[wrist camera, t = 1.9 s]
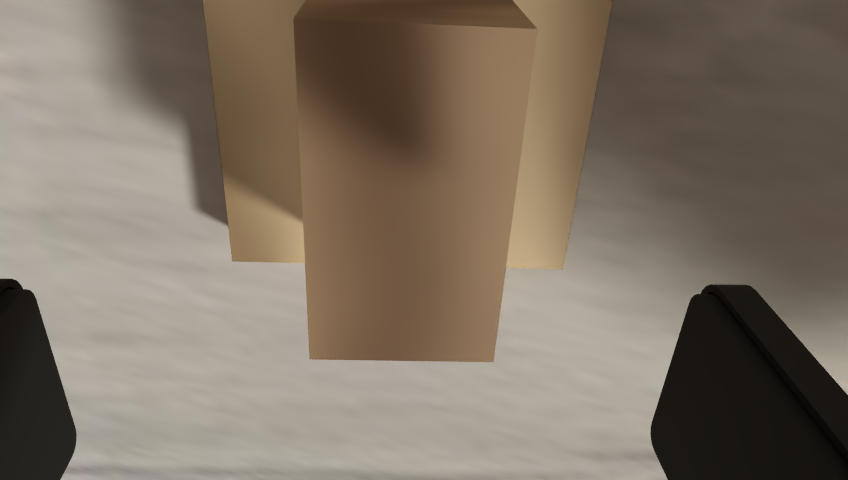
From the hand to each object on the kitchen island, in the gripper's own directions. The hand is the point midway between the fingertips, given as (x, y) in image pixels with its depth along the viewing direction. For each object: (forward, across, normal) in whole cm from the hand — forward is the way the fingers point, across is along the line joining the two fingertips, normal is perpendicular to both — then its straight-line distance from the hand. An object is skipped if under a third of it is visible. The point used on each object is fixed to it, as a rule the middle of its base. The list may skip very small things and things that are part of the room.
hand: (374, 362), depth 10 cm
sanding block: (+11, -1, 0) cm, 11 cm away
